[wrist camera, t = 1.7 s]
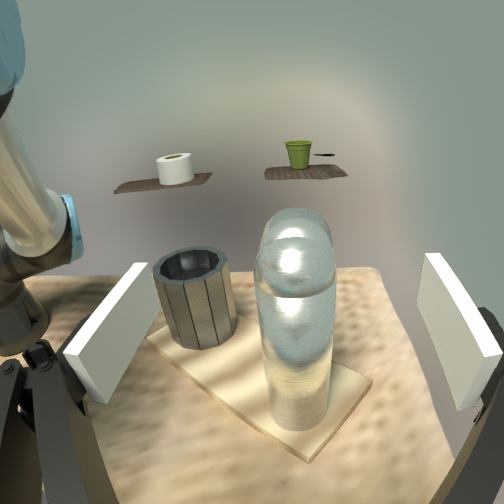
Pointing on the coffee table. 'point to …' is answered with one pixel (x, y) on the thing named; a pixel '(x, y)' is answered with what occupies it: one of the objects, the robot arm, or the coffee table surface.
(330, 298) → the polished capsule rod
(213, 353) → the birch board
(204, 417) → the coffee table surface
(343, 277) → the coffee table surface
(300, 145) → the plant pot
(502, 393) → the robot arm
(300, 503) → the coffee table surface
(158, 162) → the toilet paper roll
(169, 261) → the grey wooden bucket
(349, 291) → the coffee table surface
